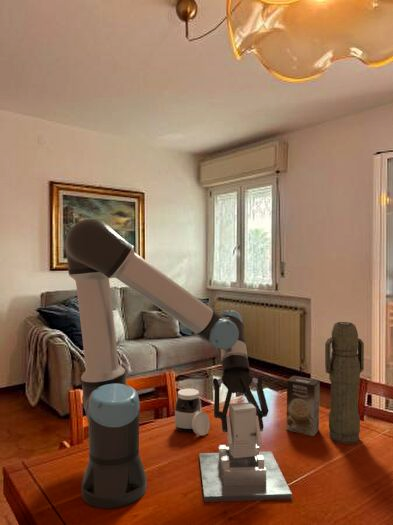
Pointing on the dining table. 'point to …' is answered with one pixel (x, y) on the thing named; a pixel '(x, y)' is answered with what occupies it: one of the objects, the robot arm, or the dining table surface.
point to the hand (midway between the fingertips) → (244, 444)
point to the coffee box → (303, 405)
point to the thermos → (344, 381)
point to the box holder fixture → (241, 477)
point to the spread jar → (190, 413)
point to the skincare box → (243, 429)
